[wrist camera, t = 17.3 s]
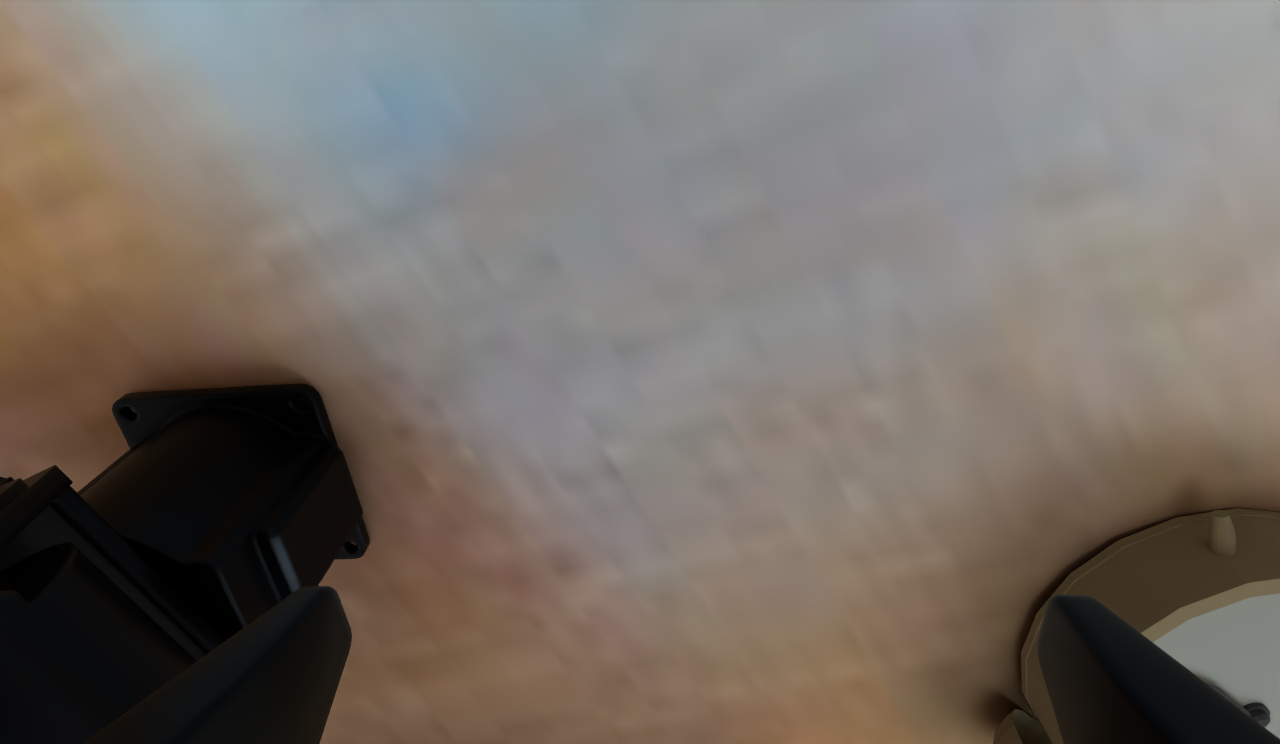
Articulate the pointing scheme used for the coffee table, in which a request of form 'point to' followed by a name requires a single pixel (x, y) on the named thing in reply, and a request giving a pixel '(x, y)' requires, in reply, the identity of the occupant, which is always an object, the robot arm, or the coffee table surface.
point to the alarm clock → (1182, 611)
